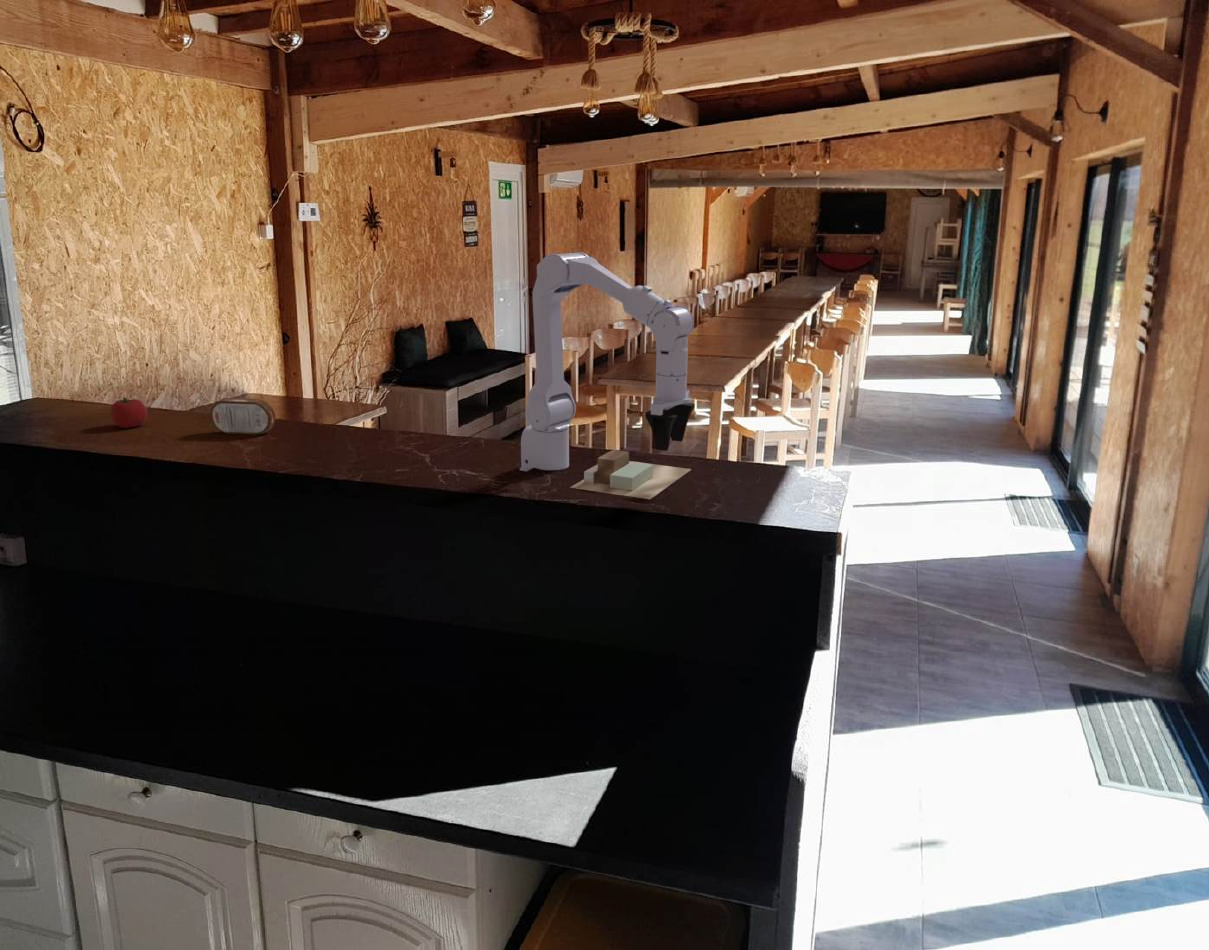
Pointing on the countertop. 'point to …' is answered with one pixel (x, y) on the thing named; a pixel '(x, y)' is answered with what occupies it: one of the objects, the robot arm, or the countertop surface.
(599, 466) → the block
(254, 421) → the tin
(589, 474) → the block
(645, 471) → the block
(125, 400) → the tomato
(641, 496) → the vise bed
